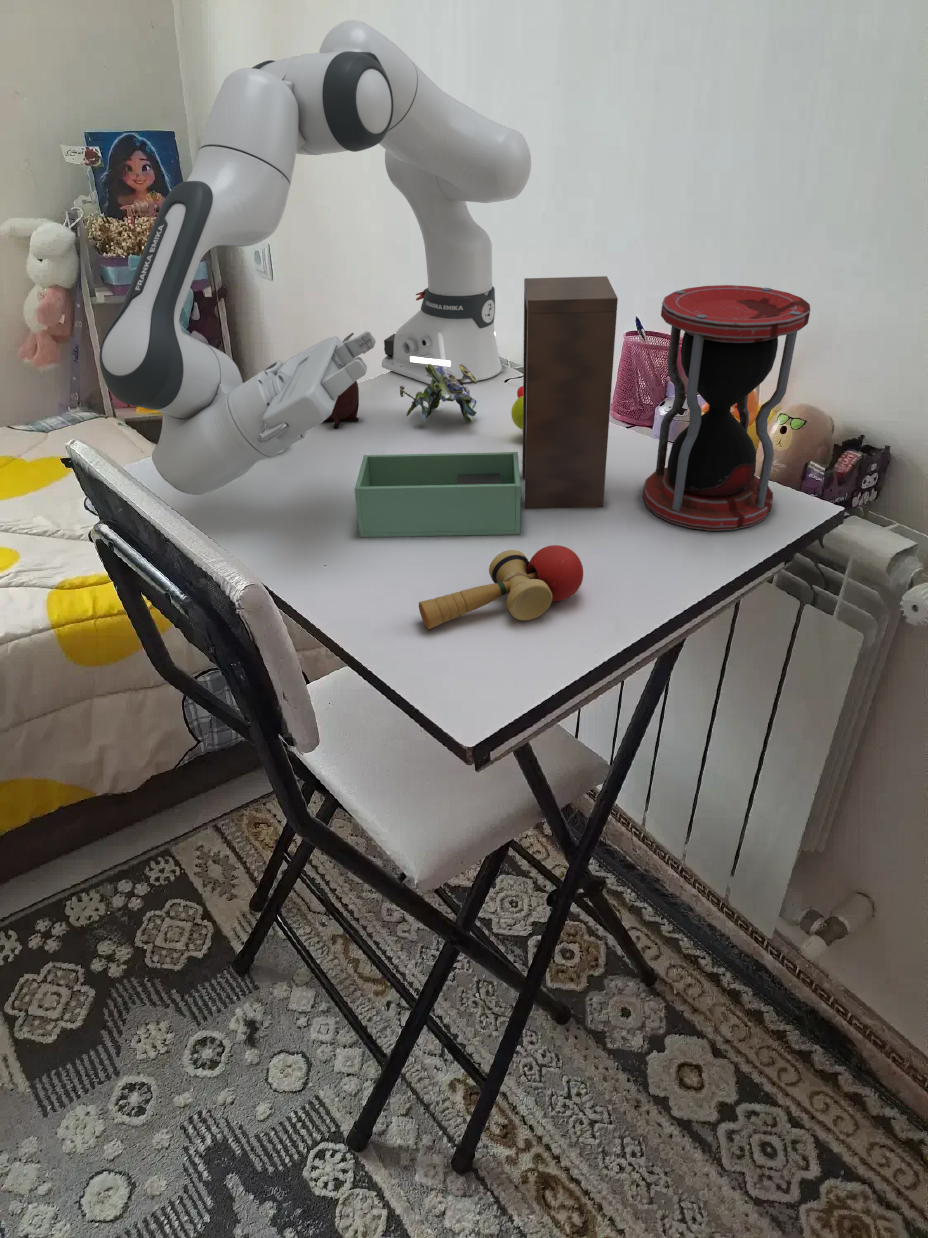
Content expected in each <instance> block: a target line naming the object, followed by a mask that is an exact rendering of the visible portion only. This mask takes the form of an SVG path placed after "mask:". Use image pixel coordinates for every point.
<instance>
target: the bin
mask: <svg viewBox="0 0 928 1238" xmlns="http://www.w3.org/2000/svg"><path fill="white" fill-rule="evenodd" d="M519 461H520V460H519V452H518V451H505V452H503V451H502V452H501V451H500V452H498V451H497V452H496V451H495V452H455V453H454V452H452V453H451V452H449V453H404V454H401V453H399V454H364V455H363V456H362V460H361V464H360V468H359V472H358V475H357V478H356V483H355V486H354V497H355V505H356V513H357V523H358V531H359V532H358V533H359V538H390V537H391V538H392V537H393V538H395V537H398V538H399V537H444V536H445V537H450V536H451V537H452V536H454V537H455V536H504V535H506V536H507V535H521V493H522V492H521V489H522V487H521V486H522V485H521V476H520V463H519ZM487 473H500V475H501V484H475V485H458V474H487Z"/></svg>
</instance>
